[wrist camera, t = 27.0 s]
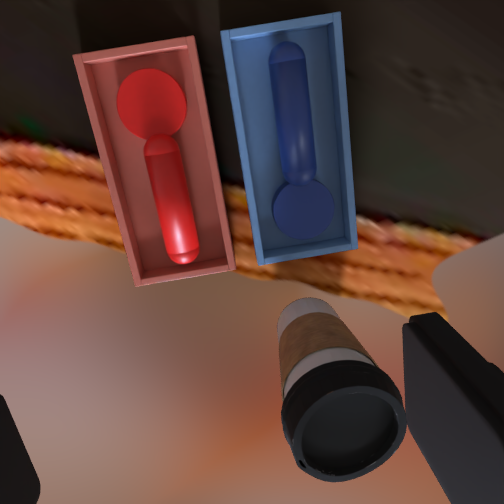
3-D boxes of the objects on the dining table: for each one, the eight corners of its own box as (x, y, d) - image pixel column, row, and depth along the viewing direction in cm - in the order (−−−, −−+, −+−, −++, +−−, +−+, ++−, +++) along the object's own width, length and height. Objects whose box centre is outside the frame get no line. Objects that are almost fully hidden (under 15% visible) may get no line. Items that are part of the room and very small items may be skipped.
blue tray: (255, 255, 39) (258, 265, 37) (220, 35, 33) (220, 30, 31) (350, 240, 39) (358, 248, 37) (332, 17, 33) (340, 11, 31)
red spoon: (216, 252, 38) (216, 263, 36) (158, 262, 38) (154, 274, 35) (179, 64, 33) (176, 61, 30) (112, 75, 33) (102, 73, 30)
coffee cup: (247, 313, 41) (261, 425, 27) (325, 268, 40) (382, 360, 26) (290, 375, 44) (324, 507, 30) (364, 335, 43) (435, 451, 29)
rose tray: (140, 275, 39) (135, 286, 37) (82, 57, 33) (72, 54, 30) (235, 259, 39) (236, 269, 37) (195, 39, 33) (193, 35, 30)
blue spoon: (248, 49, 33) (250, 44, 30) (315, 38, 33) (323, 32, 30) (275, 239, 38) (279, 249, 35) (333, 229, 38) (341, 239, 36)
